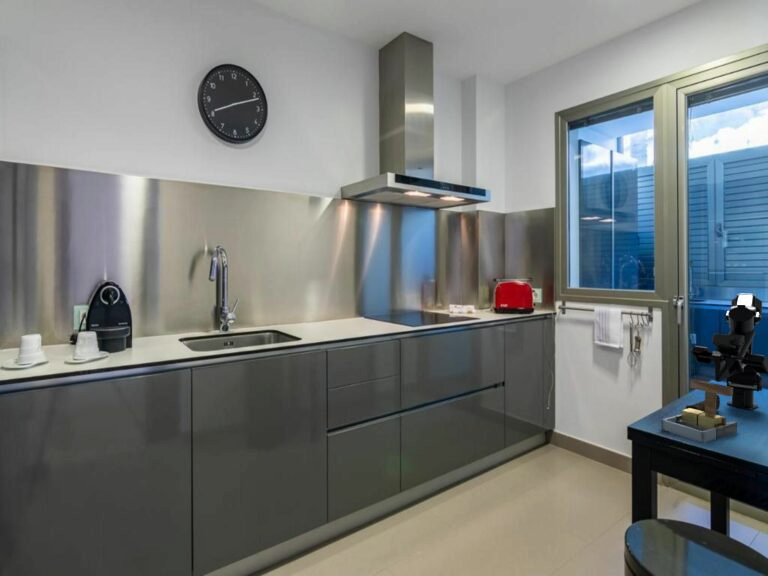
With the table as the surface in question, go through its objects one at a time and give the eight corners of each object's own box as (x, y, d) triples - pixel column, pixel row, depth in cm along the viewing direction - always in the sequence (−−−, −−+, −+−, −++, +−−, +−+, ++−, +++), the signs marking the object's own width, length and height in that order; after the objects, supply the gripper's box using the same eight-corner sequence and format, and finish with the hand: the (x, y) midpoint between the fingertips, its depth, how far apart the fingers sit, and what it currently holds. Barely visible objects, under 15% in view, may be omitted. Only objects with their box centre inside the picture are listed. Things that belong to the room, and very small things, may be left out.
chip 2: (705, 422, 122) (706, 412, 122) (721, 427, 118) (722, 416, 118) (698, 424, 120) (698, 414, 120) (713, 429, 117) (714, 419, 117)
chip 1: (689, 417, 126) (689, 408, 126) (704, 422, 122) (704, 412, 122) (681, 420, 124) (681, 410, 124) (696, 424, 121) (696, 414, 121)
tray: (673, 426, 125) (674, 416, 125) (716, 439, 115) (716, 428, 115) (661, 429, 122) (661, 419, 122) (703, 443, 112) (703, 432, 112)
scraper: (693, 414, 128) (694, 379, 128) (732, 425, 119) (732, 387, 119) (687, 416, 127) (688, 380, 126) (725, 427, 118) (726, 388, 117)
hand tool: (699, 420, 127) (699, 404, 127) (684, 416, 131) (684, 401, 131) (729, 409, 136) (728, 395, 136) (714, 406, 140) (714, 392, 140)
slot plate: (694, 420, 130) (694, 410, 129) (737, 432, 119) (737, 422, 119) (674, 425, 125) (674, 415, 125) (717, 439, 115) (717, 428, 115)
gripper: (694, 320, 134) (673, 358, 130) (767, 327, 118) (745, 370, 113) (707, 343, 138) (687, 380, 134) (780, 352, 121) (759, 395, 117)
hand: (717, 380), depth 124 cm, fingers closed
